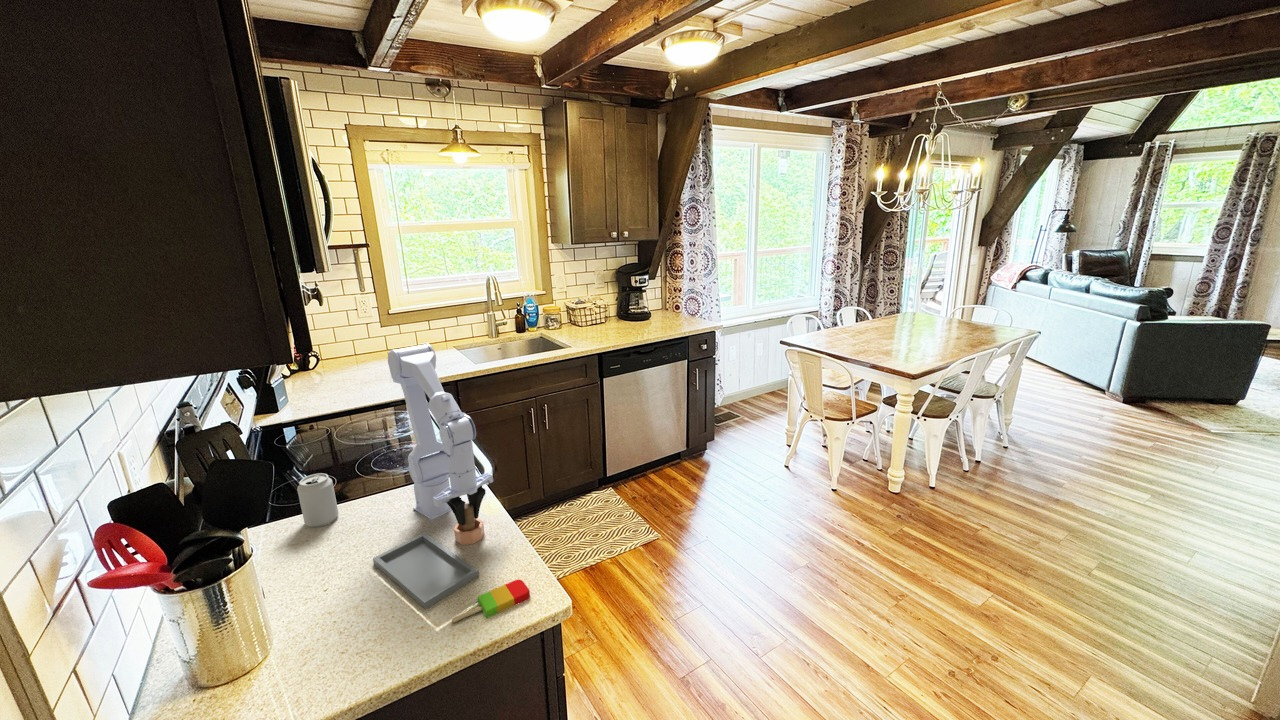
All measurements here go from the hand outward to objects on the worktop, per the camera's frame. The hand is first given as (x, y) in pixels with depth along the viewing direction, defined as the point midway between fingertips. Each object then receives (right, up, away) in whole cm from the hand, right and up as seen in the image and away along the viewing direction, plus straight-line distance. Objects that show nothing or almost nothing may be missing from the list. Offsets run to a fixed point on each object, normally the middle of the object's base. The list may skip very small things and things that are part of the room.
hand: (468, 520), depth 120 cm
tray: (-6, -8, -10) cm, 14 cm away
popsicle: (+11, -11, -20) cm, 26 cm away
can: (-41, -3, +10) cm, 42 cm away
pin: (0, -4, +1) cm, 4 cm away
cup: (0, -5, +1) cm, 5 cm away
